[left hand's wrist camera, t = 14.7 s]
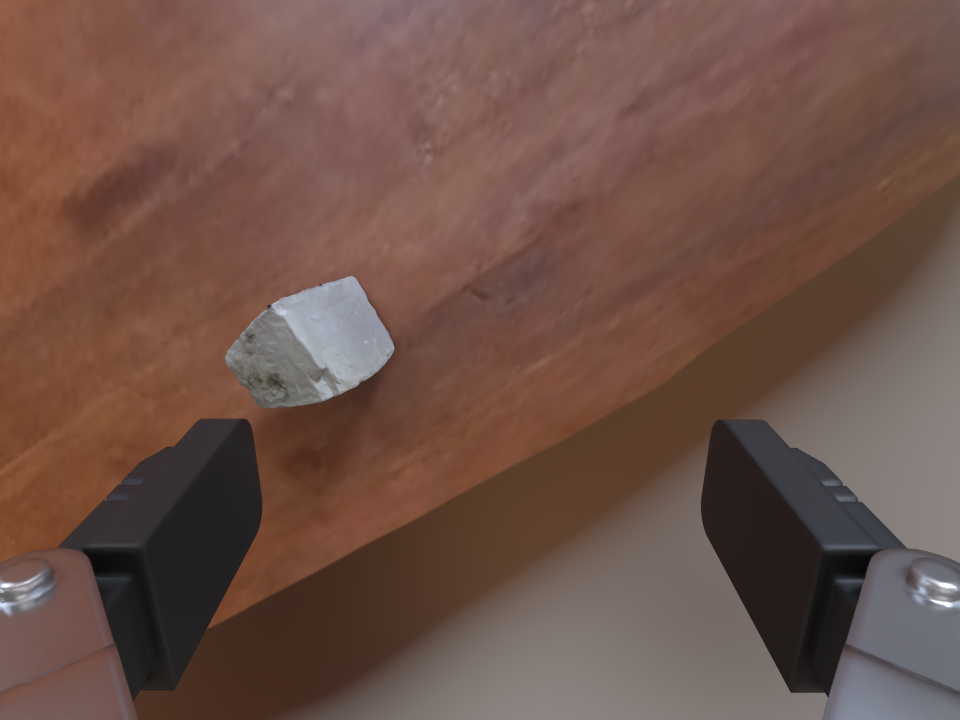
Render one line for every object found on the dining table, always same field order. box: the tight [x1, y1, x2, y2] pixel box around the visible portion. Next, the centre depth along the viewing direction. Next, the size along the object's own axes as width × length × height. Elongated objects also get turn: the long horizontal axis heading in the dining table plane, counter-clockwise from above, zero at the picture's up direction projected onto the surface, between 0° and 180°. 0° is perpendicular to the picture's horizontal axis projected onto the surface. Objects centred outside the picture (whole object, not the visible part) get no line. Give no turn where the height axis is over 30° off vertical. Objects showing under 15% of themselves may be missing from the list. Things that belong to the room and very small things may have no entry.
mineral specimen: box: [225, 276, 394, 408], centre depth 38 cm, size 7×9×8 cm
